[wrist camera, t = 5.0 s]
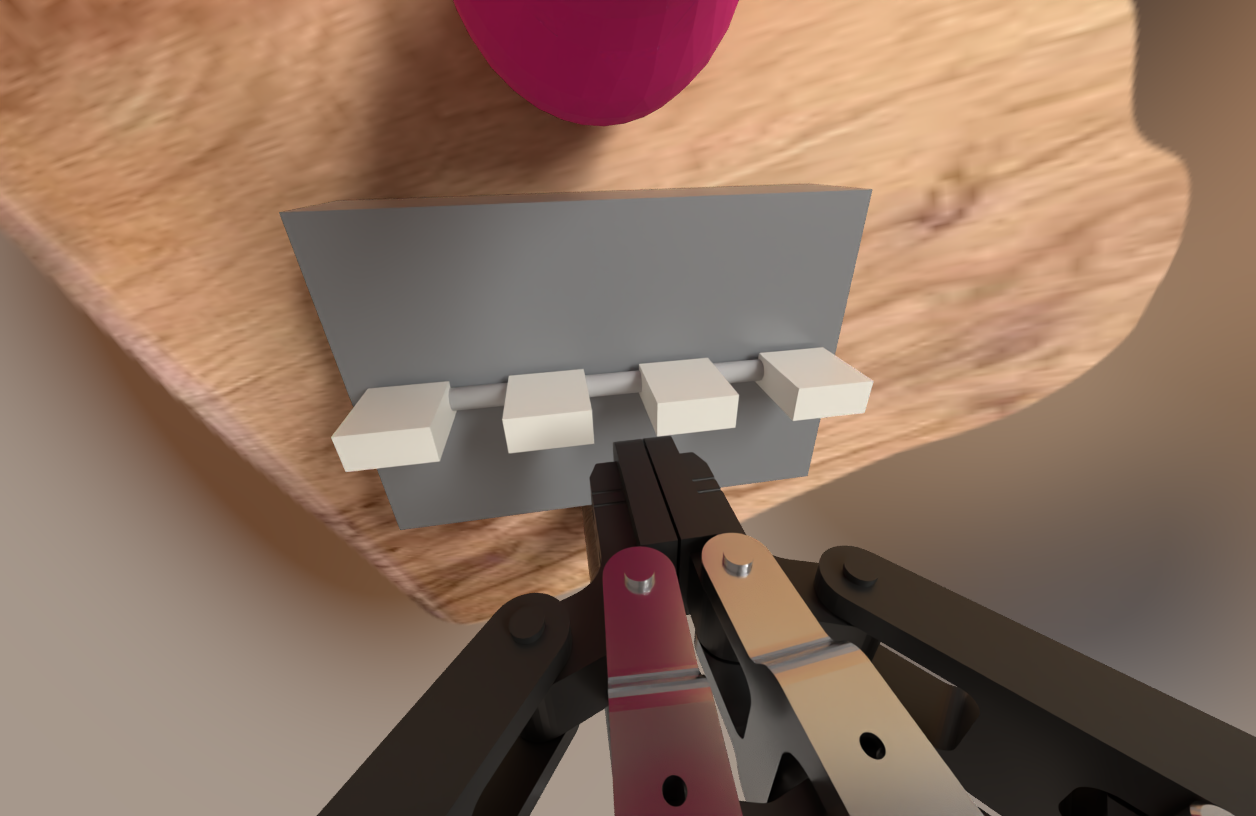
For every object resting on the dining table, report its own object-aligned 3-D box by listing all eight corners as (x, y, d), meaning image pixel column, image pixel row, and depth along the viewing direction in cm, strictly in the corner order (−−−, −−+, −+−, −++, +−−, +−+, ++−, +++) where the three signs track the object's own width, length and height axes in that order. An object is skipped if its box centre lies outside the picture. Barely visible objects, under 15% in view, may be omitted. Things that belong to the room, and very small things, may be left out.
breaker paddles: (369, 385, 15) (330, 437, 12) (820, 345, 17) (873, 380, 14) (380, 416, 15) (345, 472, 13) (814, 373, 18) (864, 412, 15)
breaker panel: (336, 200, 16) (279, 212, 12) (809, 183, 18) (872, 189, 15) (422, 470, 22) (400, 530, 18) (769, 430, 24) (807, 475, 21)
